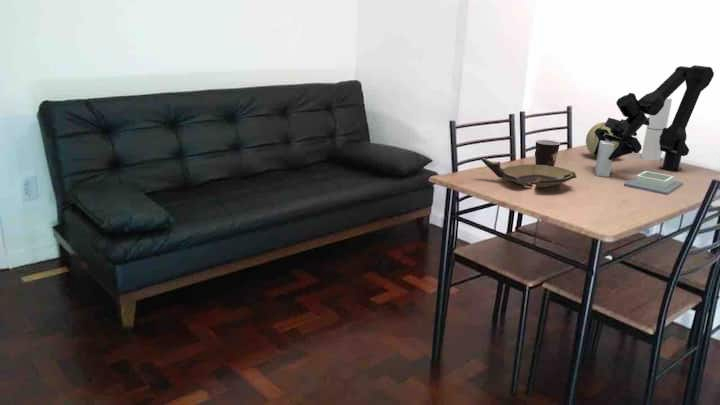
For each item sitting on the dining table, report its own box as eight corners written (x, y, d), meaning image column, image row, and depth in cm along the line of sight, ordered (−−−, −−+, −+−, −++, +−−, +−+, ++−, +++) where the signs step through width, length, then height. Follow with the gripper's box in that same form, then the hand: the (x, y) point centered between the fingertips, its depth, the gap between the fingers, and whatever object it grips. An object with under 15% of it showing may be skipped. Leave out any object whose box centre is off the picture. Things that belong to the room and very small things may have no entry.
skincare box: (609, 177, 218) (615, 144, 214) (597, 176, 219) (602, 143, 215) (606, 173, 224) (611, 141, 220) (594, 172, 224) (599, 140, 221)
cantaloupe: (584, 160, 242) (589, 122, 237) (582, 152, 255) (588, 116, 251) (623, 164, 238) (630, 126, 233) (620, 156, 251) (626, 120, 247)
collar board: (641, 176, 221) (643, 167, 220) (682, 184, 212) (684, 175, 211) (623, 185, 208) (625, 176, 207) (667, 194, 199) (669, 185, 198)
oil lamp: (561, 200, 190) (565, 176, 187) (473, 182, 206) (475, 160, 203) (581, 185, 207) (585, 163, 205) (499, 169, 223) (501, 149, 221)
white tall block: (637, 156, 252) (648, 95, 244) (653, 156, 252) (665, 96, 245) (647, 160, 245) (659, 98, 237) (663, 160, 246) (676, 98, 238)
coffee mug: (547, 165, 232) (550, 139, 228) (561, 171, 224) (565, 144, 221) (520, 166, 228) (524, 140, 225) (534, 172, 220) (537, 145, 217)
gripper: (602, 106, 224) (573, 136, 223) (641, 114, 207) (610, 148, 207) (615, 126, 229) (587, 156, 228) (654, 136, 212) (624, 169, 212)
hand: (601, 157), depth 219 cm, fingers closed on skincare box, 7 cm apart
